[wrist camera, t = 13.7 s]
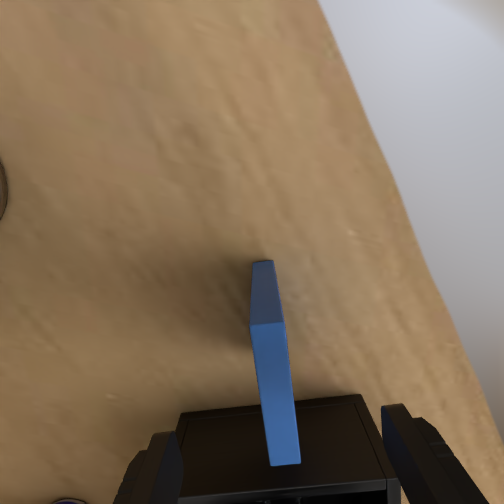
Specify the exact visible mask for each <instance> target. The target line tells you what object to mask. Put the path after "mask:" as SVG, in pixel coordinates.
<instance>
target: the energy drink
mask: <svg viewBox="0 0 504 504" xmlns="http://www.w3.org/2000/svg"><path fill="white" fill-rule="evenodd" d="M54 504H85V503H83V502H81V501H78V500H73V499H65V500H60V501H58V502H56V503H54Z"/></svg>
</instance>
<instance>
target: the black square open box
mask: <svg viewBox="0 0 504 504" xmlns="http://www.w3.org/2000/svg"><path fill="white" fill-rule="evenodd" d="M294 405H295V414H296V422H297V431H298V439H299V447H300V456H301V463H300V464H289V465H278V466H271V465H270V461H269V454H268V448H267V441H266V435H265V428H264V421H263V415H262V408H261V405H255V406H245V407H236V408H226V409H217V410H207V411H198V412H188V413H181V415H180V418H179V422H178V425H177V428H176V431H175V434H176V438H177V441H178V445H179V449H180V452H181V456H182V460H183V480H182V485H181V489H180V494H179V498H178V503H177V504H262V502H256V501H265V500H270V504H295V498H299V497H303V502H304V504H401V484H400V482H399V480H398V478H397V476H396V473H395V471H394V469H393V467H392V465H391V463H390V461H389V459H388V456H387V454H386V451H385V448H384V444H383V440H382V438H381V435H380V433H379V431H378V429H377V427H376V425H375V423H374V421H373V418H372V416H371V414H370V412H369V410H368V408H367V406H366V404H365V401H364V399H363V397H362V395H361V394H359V395H350V396H340V397H331V398H321V399H312V400H302V401H294Z"/></svg>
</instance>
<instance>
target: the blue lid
mask: <svg viewBox="0 0 504 504" xmlns="http://www.w3.org/2000/svg"><path fill="white" fill-rule="evenodd" d="M249 329H250V335H251V342H252V349H253V355H254V362H255V368H256V375H257V382H258V388H259V395H260V401H261V408H262V415H263V421H264V428H265V435H266V441H267V448H268V454H269V461H270V465H271V466H278V465H289V464H300V463H301V456H300V447H299V439H298V431H297V422H296V414H295V405H294V397H293V388H292V380H291V372H290V363H289V355H288V346H287V338H286V329H285V322H284V316H283V311H282V305H281V300H280V294H279V289H278V283H277V278H276V272H275V267H274V262H273V260H271V261H263V262H255V263H253V267H252V285H251V303H250V321H249Z"/></svg>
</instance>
